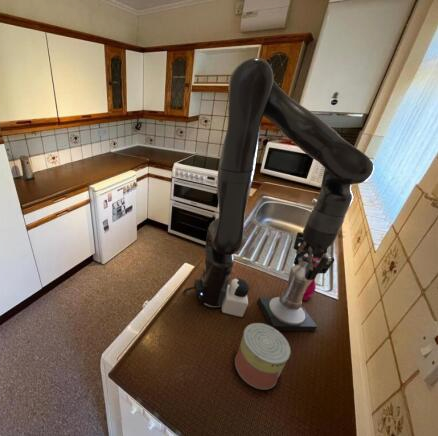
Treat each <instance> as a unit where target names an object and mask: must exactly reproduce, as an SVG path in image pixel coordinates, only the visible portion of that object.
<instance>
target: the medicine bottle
mask: <svg viewBox="0 0 438 436" xmlns="http://www.w3.org/2000/svg"><path fill="white" fill-rule="evenodd" d="M230 281H231V282H230V283H229V284H228V288H227V291H226V294H225V297H224V300H223V304H222V307H221V312H222V313H223V314H227V315H231V316H236V317H240V318H242V317H243V316H244V315H245V313H246V310H247V308H248V306H249V299H248V294H249V291H250V288H251V287H250V285H249V283H248V282H247V281H246V280H244V279H241V278H233V279H231V280H230Z"/></svg>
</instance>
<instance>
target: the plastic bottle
mask: <svg viewBox="0 0 438 436" xmlns="http://www.w3.org/2000/svg"><path fill="white" fill-rule="evenodd" d="M309 269H310V262H309V257H307V255H305V256H303V257H301V259H300V261H299V264H297V265H295V264H294V265H293V266H291V268H290V270H289V276H288V280H287V283H286V285H285V288H284V289H283V291H282V292H281V293H280V295H279V297H280V298H279V302H280V305H281V306H282V307H283V308H284V309H285V310H287V311H291V312H294V311H297V310H299V308H300V307H301V304H302V305H303V300H302V299H303V296H304V293H305V291H306V289H307V287H308V286H309V285H310V283H311V282H312V281H313V280H307V279H306V278H305V277H306V275H307V272H308V270H309Z"/></svg>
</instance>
